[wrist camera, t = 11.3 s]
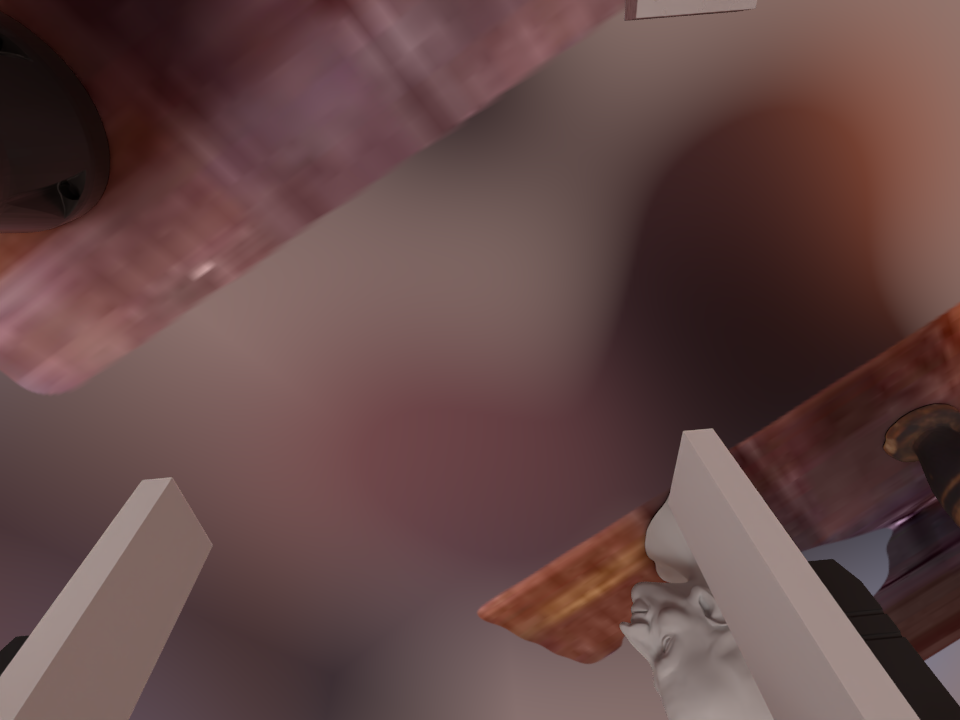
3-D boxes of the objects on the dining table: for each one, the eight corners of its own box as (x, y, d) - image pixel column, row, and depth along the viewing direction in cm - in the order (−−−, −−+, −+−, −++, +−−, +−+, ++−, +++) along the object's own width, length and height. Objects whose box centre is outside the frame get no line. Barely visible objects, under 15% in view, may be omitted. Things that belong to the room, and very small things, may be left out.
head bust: (596, 485, 59) (677, 721, 38) (749, 468, 59) (915, 695, 38) (591, 586, 71) (652, 808, 50) (719, 571, 71) (834, 789, 50)
